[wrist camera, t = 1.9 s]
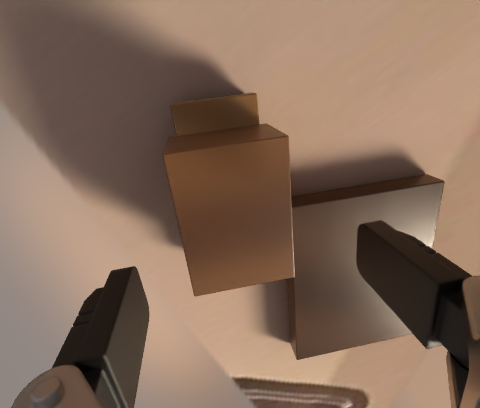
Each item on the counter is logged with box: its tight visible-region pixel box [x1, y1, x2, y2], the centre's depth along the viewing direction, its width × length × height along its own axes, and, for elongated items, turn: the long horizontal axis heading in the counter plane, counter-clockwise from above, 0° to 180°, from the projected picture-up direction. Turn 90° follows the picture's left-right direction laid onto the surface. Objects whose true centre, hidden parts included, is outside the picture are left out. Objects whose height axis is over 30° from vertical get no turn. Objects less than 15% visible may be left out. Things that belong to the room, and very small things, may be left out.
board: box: [287, 174, 444, 360], centre depth 21 cm, size 13×10×2 cm
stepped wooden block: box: [163, 93, 295, 296], centre depth 15 cm, size 10×5×5 cm, turn 7°
